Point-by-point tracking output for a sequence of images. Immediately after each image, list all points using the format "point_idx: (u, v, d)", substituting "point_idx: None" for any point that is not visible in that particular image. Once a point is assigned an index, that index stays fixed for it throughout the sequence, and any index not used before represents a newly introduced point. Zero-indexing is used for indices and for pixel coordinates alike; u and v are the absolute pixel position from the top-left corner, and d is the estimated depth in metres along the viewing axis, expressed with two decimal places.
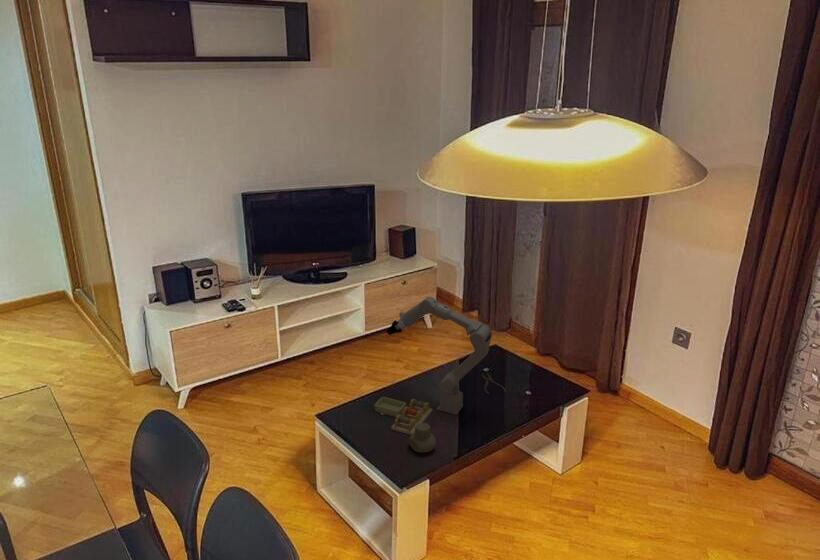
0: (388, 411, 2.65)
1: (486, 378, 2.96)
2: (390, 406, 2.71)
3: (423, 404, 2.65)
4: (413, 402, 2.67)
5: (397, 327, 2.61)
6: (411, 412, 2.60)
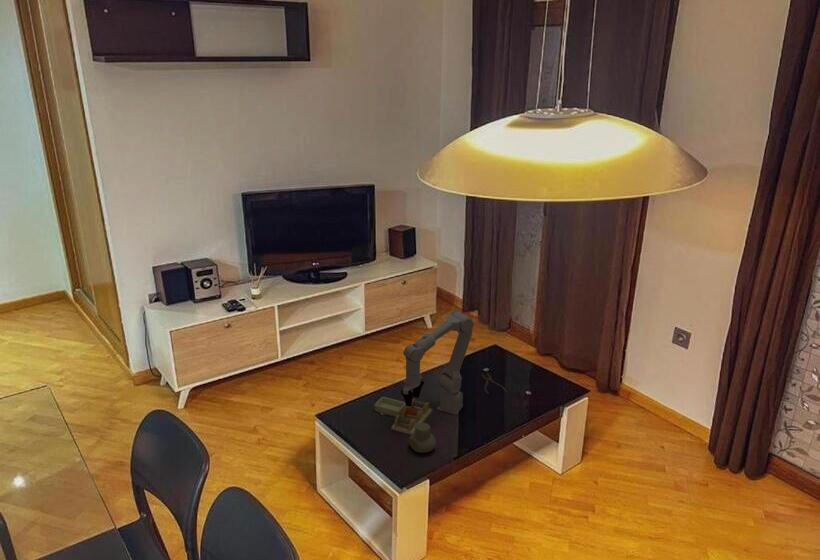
0: (388, 411, 2.65)
1: (486, 378, 2.96)
2: (390, 406, 2.71)
3: (423, 404, 2.65)
4: (413, 402, 2.67)
5: (405, 392, 2.50)
6: (411, 412, 2.60)
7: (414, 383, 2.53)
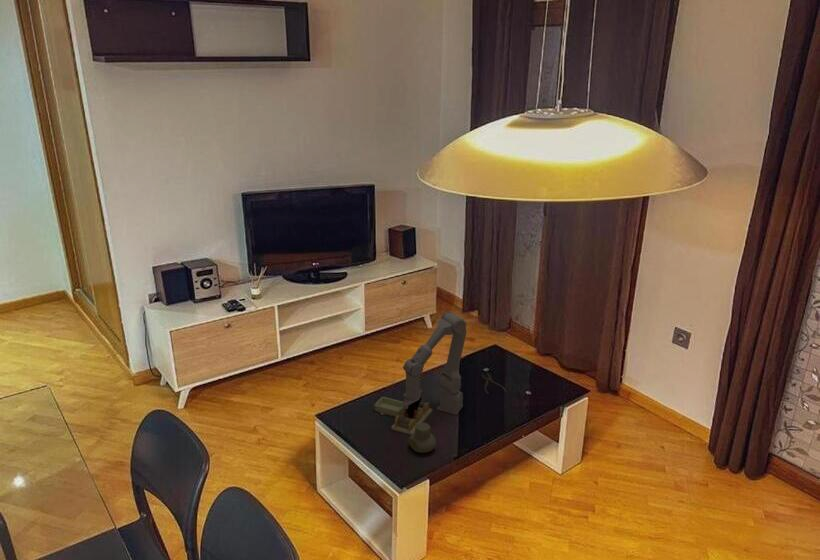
0: (388, 411, 2.65)
1: (486, 378, 2.96)
2: (390, 406, 2.71)
3: (423, 404, 2.65)
4: None
5: (404, 406, 2.52)
6: None
7: (414, 397, 2.55)
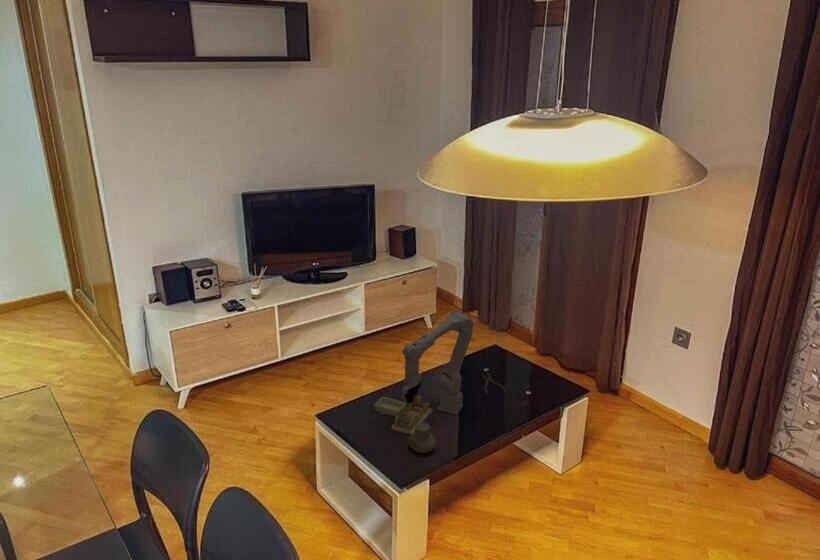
0: (388, 411, 2.65)
1: (486, 378, 2.96)
2: (390, 406, 2.71)
3: (423, 405, 2.65)
4: (413, 403, 2.66)
5: (404, 391, 2.50)
6: None
7: (413, 382, 2.53)
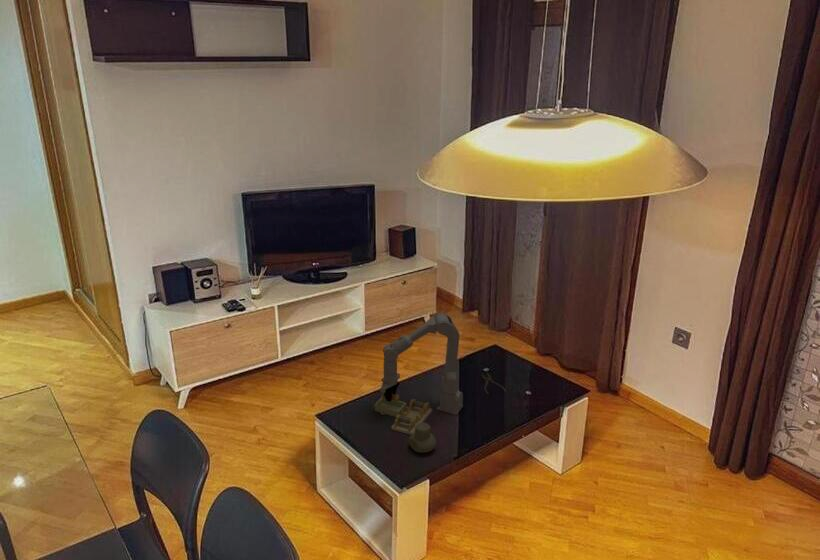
0: (388, 411, 2.65)
1: (486, 378, 2.96)
2: (390, 406, 2.71)
3: (423, 405, 2.65)
4: (413, 403, 2.66)
5: (382, 390, 2.59)
6: None
7: (391, 382, 2.62)
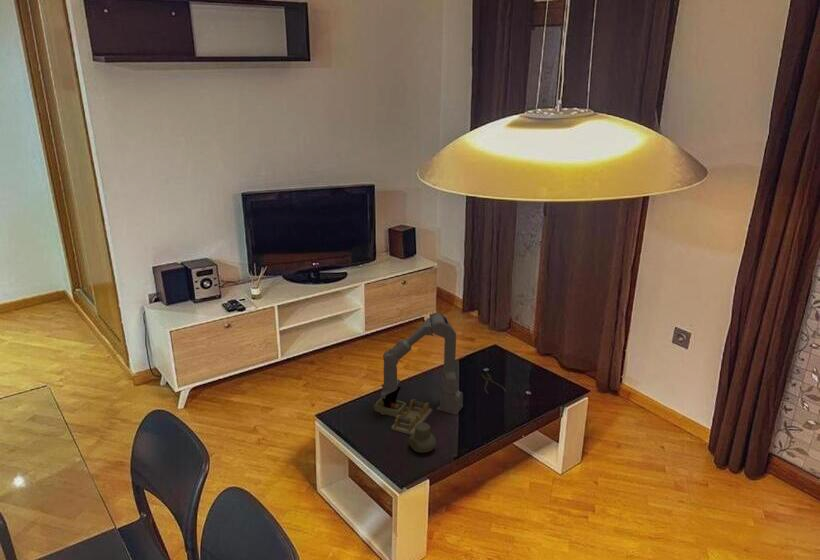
0: (388, 411, 2.65)
1: (486, 378, 2.96)
2: None
3: (423, 405, 2.65)
4: (413, 403, 2.66)
5: (382, 396, 2.60)
6: None
7: (391, 387, 2.63)
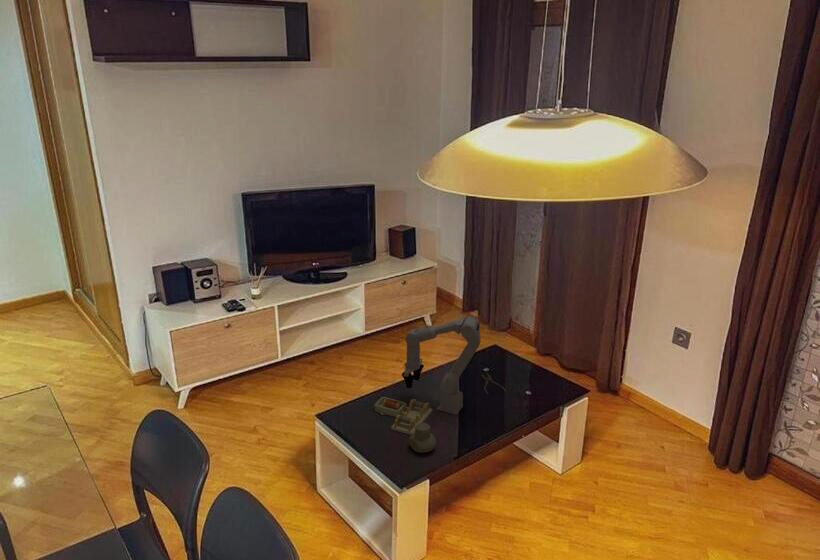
0: (388, 411, 2.65)
1: (486, 378, 2.96)
2: None
3: (423, 405, 2.65)
4: (413, 403, 2.66)
5: (405, 374, 2.64)
6: (391, 402, 2.69)
7: (414, 366, 2.66)
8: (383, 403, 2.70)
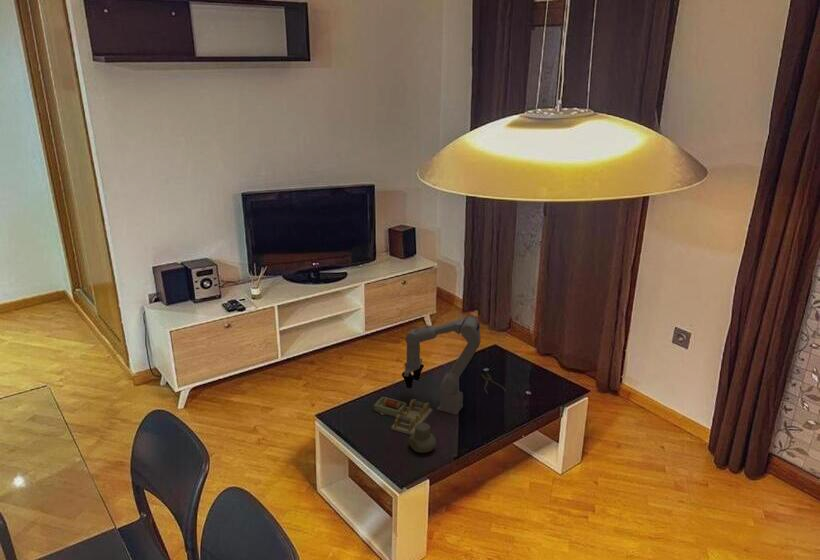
0: (388, 411, 2.65)
1: (486, 378, 2.96)
2: None
3: (423, 405, 2.65)
4: (413, 403, 2.66)
5: (405, 374, 2.64)
6: (392, 401, 2.70)
7: (414, 366, 2.66)
8: (384, 401, 2.70)
